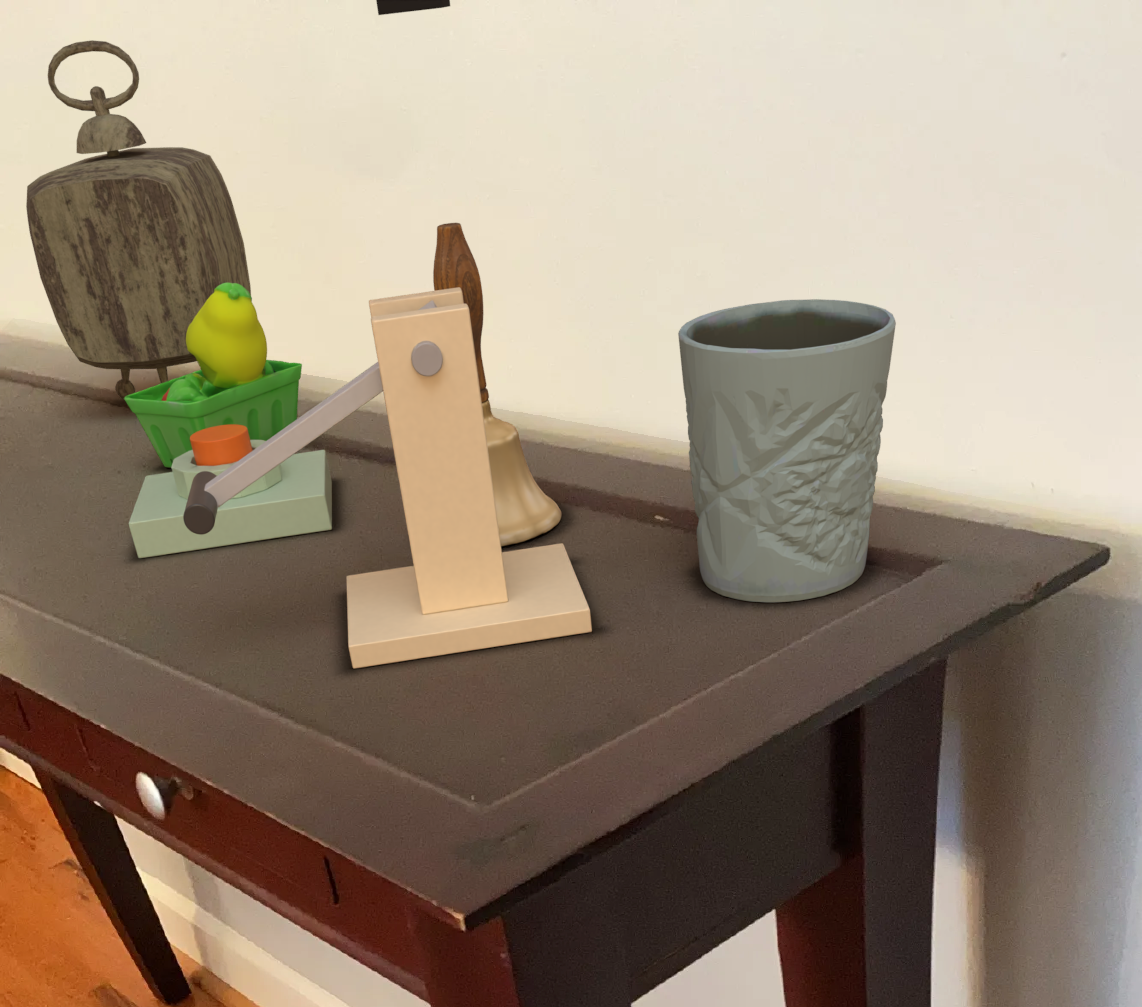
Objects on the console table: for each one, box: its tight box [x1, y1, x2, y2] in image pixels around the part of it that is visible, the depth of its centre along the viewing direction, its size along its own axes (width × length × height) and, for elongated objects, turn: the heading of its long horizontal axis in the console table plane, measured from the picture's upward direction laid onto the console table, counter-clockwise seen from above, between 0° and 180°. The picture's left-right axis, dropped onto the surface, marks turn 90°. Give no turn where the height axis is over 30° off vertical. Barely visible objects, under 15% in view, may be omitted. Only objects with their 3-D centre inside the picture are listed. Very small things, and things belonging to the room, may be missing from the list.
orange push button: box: [190, 424, 253, 466], centre depth 87 cm, size 4×4×2 cm
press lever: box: [183, 300, 437, 535], centre depth 66 cm, size 15×6×2 cm, turn 98°
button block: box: [127, 440, 333, 559], centre depth 88 cm, size 12×10×4 cm
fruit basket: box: [123, 283, 303, 468], centre depth 99 cm, size 11×9×11 cm
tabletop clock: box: [25, 40, 252, 400], centre depth 108 cm, size 14×9×25 cm, turn 84°
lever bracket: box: [345, 287, 593, 669], centre depth 68 cm, size 12×10×15 cm
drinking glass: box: [677, 298, 897, 603], centre depth 69 cm, size 10×10×12 cm
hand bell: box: [432, 222, 562, 547], centre depth 78 cm, size 8×8×16 cm
